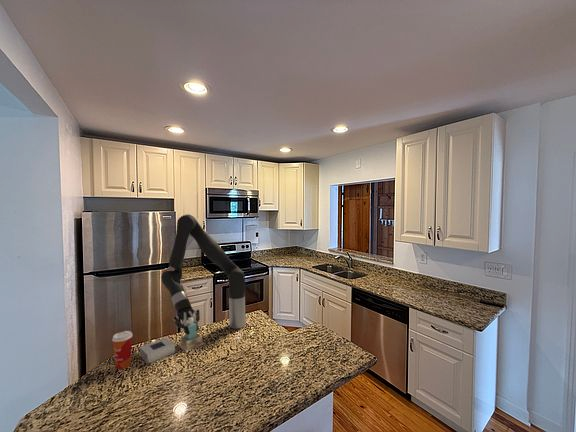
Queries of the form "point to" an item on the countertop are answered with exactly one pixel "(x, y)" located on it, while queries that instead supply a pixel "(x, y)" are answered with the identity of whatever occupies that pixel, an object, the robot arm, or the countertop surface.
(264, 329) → the countertop surface
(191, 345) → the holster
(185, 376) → the countertop surface
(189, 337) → the teal bottle
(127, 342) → the paper cup
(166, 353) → the block
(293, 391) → the countertop surface
